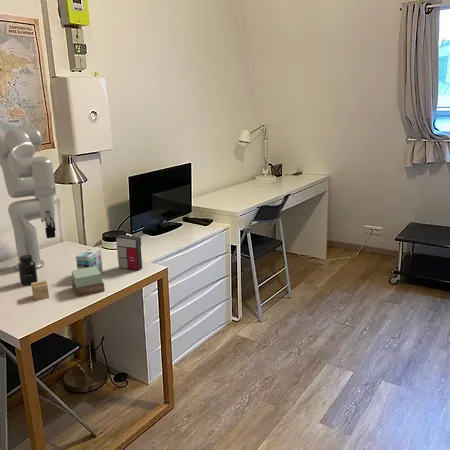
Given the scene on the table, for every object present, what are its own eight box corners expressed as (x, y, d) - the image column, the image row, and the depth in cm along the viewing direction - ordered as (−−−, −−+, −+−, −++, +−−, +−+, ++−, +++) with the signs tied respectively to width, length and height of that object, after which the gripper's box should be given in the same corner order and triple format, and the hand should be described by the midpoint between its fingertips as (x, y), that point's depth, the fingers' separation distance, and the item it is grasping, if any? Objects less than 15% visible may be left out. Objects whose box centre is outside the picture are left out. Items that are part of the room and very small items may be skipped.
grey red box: (117, 268, 211) (114, 237, 207) (123, 265, 215) (120, 234, 211) (138, 271, 207) (135, 239, 203) (143, 267, 211) (140, 236, 207)
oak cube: (33, 295, 184) (31, 282, 183) (47, 292, 187) (45, 280, 185) (34, 300, 179) (32, 287, 178) (49, 297, 182) (47, 284, 180)
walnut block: (72, 288, 191) (71, 279, 190) (99, 283, 196) (98, 274, 195) (76, 298, 182) (75, 288, 181) (104, 292, 186) (103, 283, 185)
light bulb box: (92, 280, 198) (89, 256, 195) (77, 279, 199) (75, 256, 196) (103, 271, 208) (101, 248, 205) (89, 270, 209) (87, 248, 206)
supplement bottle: (27, 287, 193) (23, 260, 189) (17, 284, 196) (13, 257, 193) (41, 281, 198) (37, 255, 195) (31, 278, 202) (27, 252, 199)
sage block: (72, 279, 190) (71, 270, 189) (97, 274, 194) (96, 266, 193) (76, 287, 181) (75, 278, 180) (102, 282, 186) (101, 273, 185)
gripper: (35, 188, 183) (41, 230, 187) (33, 196, 167) (40, 241, 171) (55, 186, 185) (61, 227, 189) (55, 194, 169) (61, 238, 174)
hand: (51, 234), depth 180 cm, fingers open, 9 cm apart
